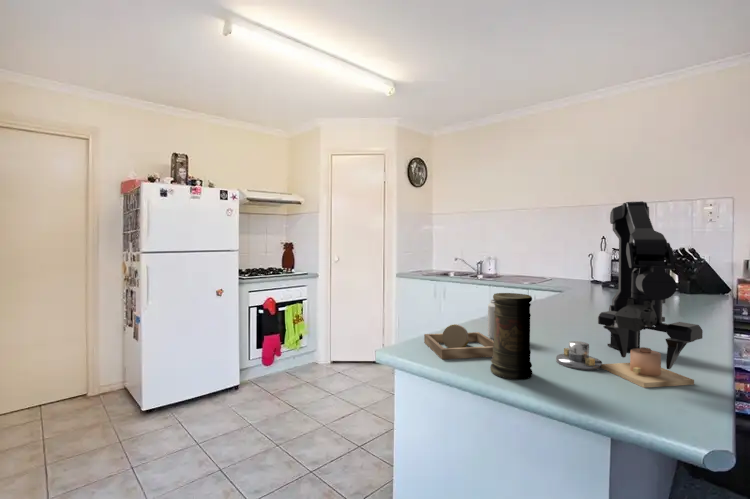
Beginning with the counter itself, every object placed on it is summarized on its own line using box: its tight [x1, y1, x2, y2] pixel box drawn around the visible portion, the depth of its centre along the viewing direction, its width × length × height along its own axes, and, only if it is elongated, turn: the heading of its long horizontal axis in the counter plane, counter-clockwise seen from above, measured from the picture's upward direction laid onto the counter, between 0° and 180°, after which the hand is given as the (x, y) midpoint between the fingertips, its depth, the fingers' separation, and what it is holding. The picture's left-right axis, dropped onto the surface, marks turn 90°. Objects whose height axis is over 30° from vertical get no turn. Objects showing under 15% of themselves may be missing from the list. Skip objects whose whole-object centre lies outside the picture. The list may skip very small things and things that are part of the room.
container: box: [490, 292, 533, 381], centre depth 87 cm, size 9×9×18 cm
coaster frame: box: [423, 331, 494, 360], centre depth 107 cm, size 17×16×2 cm
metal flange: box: [555, 340, 603, 371], centre depth 94 cm, size 10×10×5 cm
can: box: [487, 298, 495, 341], centre depth 118 cm, size 8×8×12 cm
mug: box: [442, 323, 469, 348], centre depth 108 cm, size 8×10×10 cm
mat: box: [601, 362, 695, 389], centre depth 86 cm, size 12×12×1 cm
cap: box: [629, 346, 662, 376], centre depth 86 cm, size 6×8×5 cm
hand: (645, 362), depth 86 cm, fingers open, 9 cm apart
